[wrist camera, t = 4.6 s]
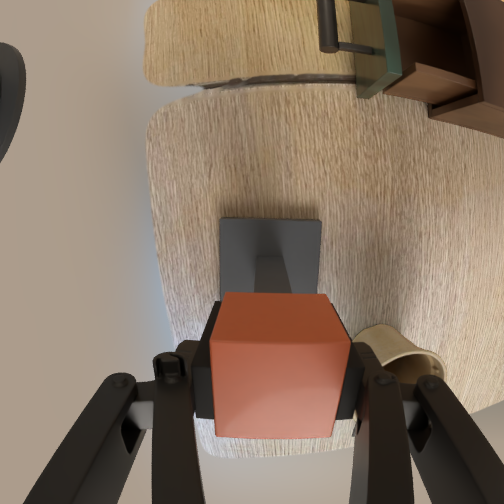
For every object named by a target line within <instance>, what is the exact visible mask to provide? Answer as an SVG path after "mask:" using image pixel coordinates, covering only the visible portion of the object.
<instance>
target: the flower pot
mask: <svg viewBox="0 0 504 504" xmlns="http://www.w3.org/2000/svg"><path fill="white" fill-rule="evenodd" d="M352 342H365V343H366V344H368V345H369V346H371V348H372V350H373V351H374V353H375V355H376V356H377V358H378V360H379V361H380V363H381V365H382V366H383V368H384V370H385V371H388V372H391V373H393V374H394V375H396V376H397V378H398V380H399V382H402V383H410V384H416V382H417V379H418V378H419V377H420V376H422V375H435V376H438V377H440V378H441V379H442V380H443V381H444V382H445V383H446V381H447V369H446V366H445V363H444V361H443V360H442V359H441V358H440V357H439V356H438V355H437V354H436V353H434V352H432V351H429V350H424V349H422V348H419V347H417V346H416V345H414V344H413V343H412V342H411V341H409V340H408V339H407V338H405V337H404V336H403V335H402V334H400V333H399V332H398V331H397V330H396V329H395V328H393V327H391V326H389V325H384V324H378V325H376V326H373V327H370V328H366V329H364V330H363V331H361V332H360V333H359V334H358V335H357V336H356V337H355V338H354V340H353V341H352ZM357 417H358V415H357V412H356V410H355V412H354V415H353V419H354V421H355V422H356V420H357Z"/></svg>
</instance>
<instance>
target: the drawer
mask: <svg viewBox="0 0 504 504" xmlns="http://www.w3.org/2000/svg"><path fill="white" fill-rule="evenodd" d="M348 1H349V4H350V13H351V22H352V32H353V43H354V44H352V43H345V42H339V43H338V32H337V20H336V9H335V0H316V2H317V16H318V32H319V50H320V51H321V52H324V53H336V52H338V50H340V51H348V52H354V55H355V70H356V90H357V98H363V99H370V98H371V97H373V96H374V95H375V94H377V93H378V92H379V91H381V90H383V94H387V95H393V96H398V97H403V98H408V99H413V100H418V101H422V102H427V103H431V104H435V105H439V106H444V105H447V104H450V103H452V102H455V101H458V100H461V99H464V98H467V97H470V96H473V95H476V94H478V90H477V82H476V75H475V68H474V62H473V57H472V51H471V46H470V41H469V37H468V32H467V28H466V24H465V20H464V16H463V12H462V9H461V5H460V2H459V0H348Z"/></svg>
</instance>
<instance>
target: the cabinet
mask: <svg viewBox="0 0 504 504" xmlns="http://www.w3.org/2000/svg"><path fill="white" fill-rule="evenodd" d="M459 2H460V5H461V9H462V12H463V16H464V20H465V24H466V28H467V32H468V37H469V41H470V46H471V51H472V57H473V62H474V68H475V75H476V82H477V90H478V94H476V95H473V96H470V97H467V98H464V99H461V100H458V101H455V102H452V103H450V104H447V105H444V106H439V105H435V104H431V103H428V114H429V118H430V119H434V120H438V121H443V122H447V123H451V124H455V125H459V126H463V127H466V128H470V129H474V130H477V131H481V132H484V133H487V134H491V135H494V136H497V137H500V138H503V139H504V2H502V1H501V0H459Z"/></svg>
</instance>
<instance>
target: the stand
mask: <svg viewBox="0 0 504 504" xmlns="http://www.w3.org/2000/svg"><path fill="white" fill-rule="evenodd" d="M321 227H322V221H320V220H313V219H282V218H238V217H221V218H220V301H223V298H224V295H225V292H247V293H292V294H317V286H318V274H319V260H320V245H321Z"/></svg>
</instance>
